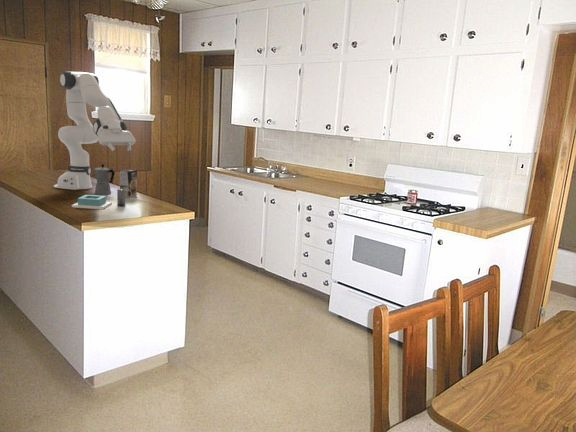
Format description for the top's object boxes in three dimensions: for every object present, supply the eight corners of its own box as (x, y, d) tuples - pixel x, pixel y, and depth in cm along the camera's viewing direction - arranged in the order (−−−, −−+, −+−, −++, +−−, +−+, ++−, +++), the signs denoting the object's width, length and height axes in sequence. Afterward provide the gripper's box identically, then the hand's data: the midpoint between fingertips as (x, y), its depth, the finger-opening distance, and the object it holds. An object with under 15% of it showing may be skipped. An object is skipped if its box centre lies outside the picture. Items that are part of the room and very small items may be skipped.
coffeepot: (88, 192, 281) (88, 163, 278) (100, 191, 290) (99, 162, 286) (108, 196, 276) (108, 166, 272) (119, 194, 285) (119, 165, 281)
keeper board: (71, 207, 240) (71, 198, 239) (82, 202, 254) (82, 193, 253) (103, 209, 241) (103, 200, 240) (111, 204, 255) (111, 195, 254)
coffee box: (129, 198, 275) (129, 171, 271) (119, 197, 276) (119, 170, 272) (137, 196, 283) (137, 170, 280) (127, 194, 285) (127, 168, 281)
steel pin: (116, 206, 250) (116, 190, 248) (118, 205, 254) (118, 189, 252) (123, 206, 250) (123, 190, 248) (125, 205, 254) (126, 189, 252)
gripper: (128, 134, 269) (136, 153, 265) (94, 133, 254) (102, 154, 250) (132, 127, 265) (141, 146, 261) (97, 126, 250) (106, 147, 246)
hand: (121, 150), depth 255 cm, fingers open, 8 cm apart
